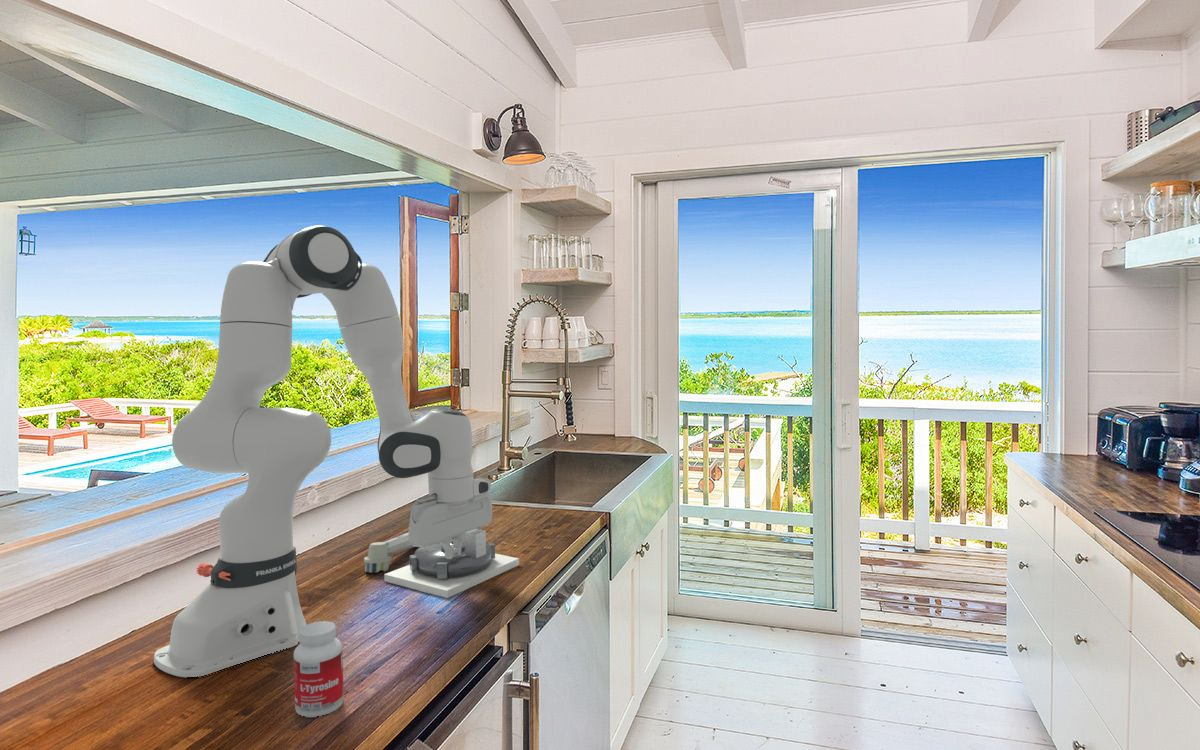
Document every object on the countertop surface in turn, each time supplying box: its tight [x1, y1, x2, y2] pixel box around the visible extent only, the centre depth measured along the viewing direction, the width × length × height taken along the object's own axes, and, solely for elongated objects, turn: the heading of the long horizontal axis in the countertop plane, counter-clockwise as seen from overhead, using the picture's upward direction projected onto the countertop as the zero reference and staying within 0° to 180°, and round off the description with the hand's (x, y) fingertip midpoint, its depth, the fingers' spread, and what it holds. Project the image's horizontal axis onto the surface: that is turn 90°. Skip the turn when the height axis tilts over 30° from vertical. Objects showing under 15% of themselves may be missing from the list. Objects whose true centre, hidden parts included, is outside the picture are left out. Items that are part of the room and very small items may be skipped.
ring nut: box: [409, 528, 496, 579], centre depth 144 cm, size 17×17×8 cm
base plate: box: [383, 553, 520, 599], centre depth 144 cm, size 22×18×2 cm
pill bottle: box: [293, 620, 345, 718], centre depth 92 cm, size 6×6×11 cm
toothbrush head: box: [363, 531, 417, 573], centre depth 156 cm, size 5×7×25 cm
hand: (453, 557), depth 135 cm, fingers closed
